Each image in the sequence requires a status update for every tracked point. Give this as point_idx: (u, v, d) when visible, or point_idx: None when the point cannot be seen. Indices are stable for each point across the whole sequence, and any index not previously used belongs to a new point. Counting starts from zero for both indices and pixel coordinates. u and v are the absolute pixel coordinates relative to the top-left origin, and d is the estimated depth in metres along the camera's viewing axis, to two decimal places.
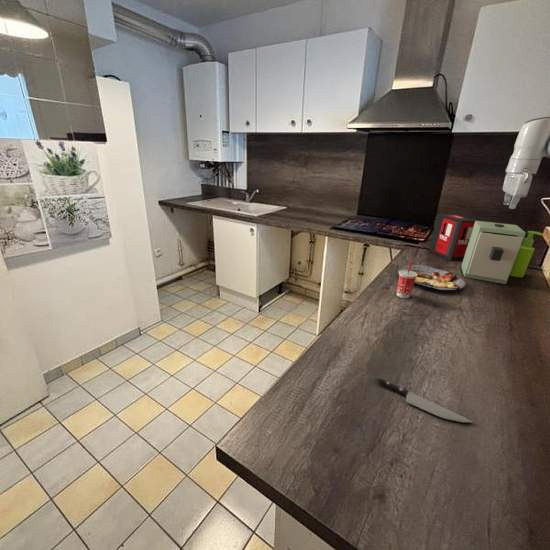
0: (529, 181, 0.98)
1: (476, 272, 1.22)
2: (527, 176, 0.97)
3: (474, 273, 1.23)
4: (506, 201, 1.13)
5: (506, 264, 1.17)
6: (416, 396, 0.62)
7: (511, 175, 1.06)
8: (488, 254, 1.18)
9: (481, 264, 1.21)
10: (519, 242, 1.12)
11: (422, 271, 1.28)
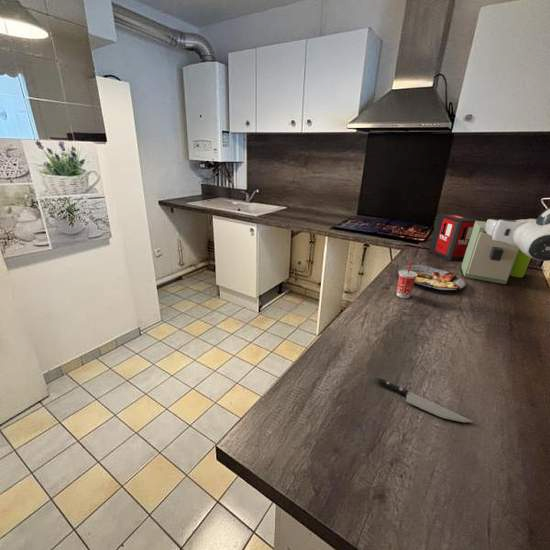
0: None
1: (476, 272, 1.22)
2: None
3: (474, 273, 1.23)
4: None
5: (506, 264, 1.17)
6: (416, 396, 0.62)
7: None
8: (488, 254, 1.18)
9: (481, 264, 1.21)
10: None
11: (422, 271, 1.28)
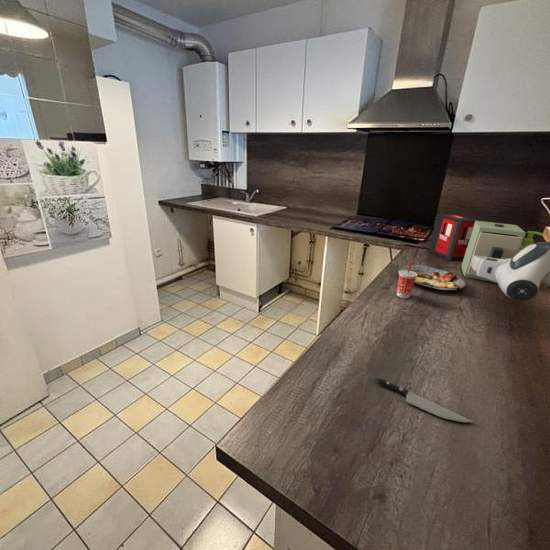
0: None
1: (476, 272, 1.22)
2: None
3: (474, 273, 1.23)
4: None
5: None
6: (416, 396, 0.62)
7: None
8: (488, 254, 1.18)
9: None
10: (519, 242, 1.12)
11: (422, 271, 1.28)
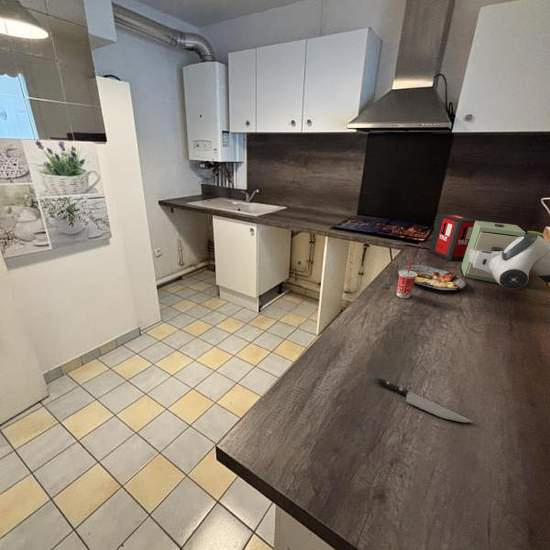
0: None
1: (476, 272, 1.22)
2: None
3: (474, 273, 1.23)
4: None
5: None
6: (416, 396, 0.62)
7: None
8: None
9: None
10: None
11: (422, 271, 1.28)
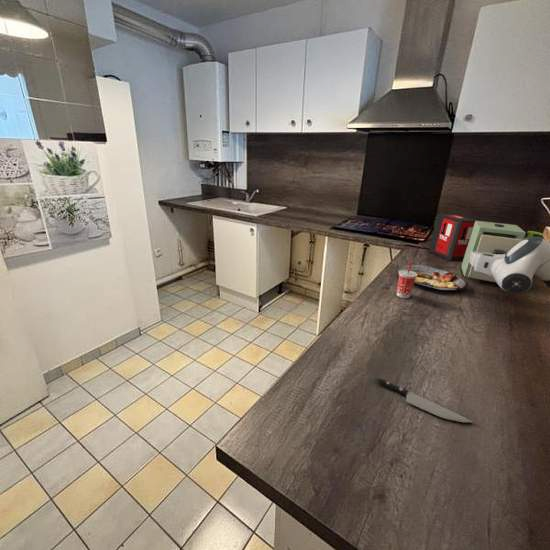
0: None
1: (477, 275, 1.19)
2: None
3: (475, 276, 1.20)
4: None
5: None
6: (416, 396, 0.62)
7: None
8: None
9: None
10: None
11: (422, 271, 1.28)
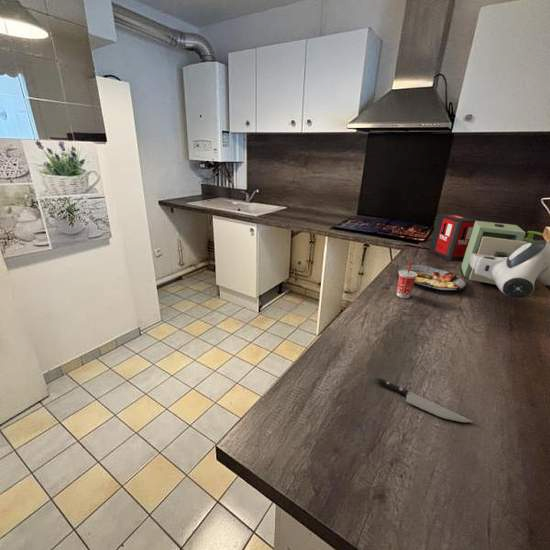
0: None
1: (478, 278, 1.17)
2: None
3: (476, 279, 1.17)
4: None
5: None
6: (416, 396, 0.62)
7: None
8: None
9: None
10: None
11: (422, 271, 1.28)
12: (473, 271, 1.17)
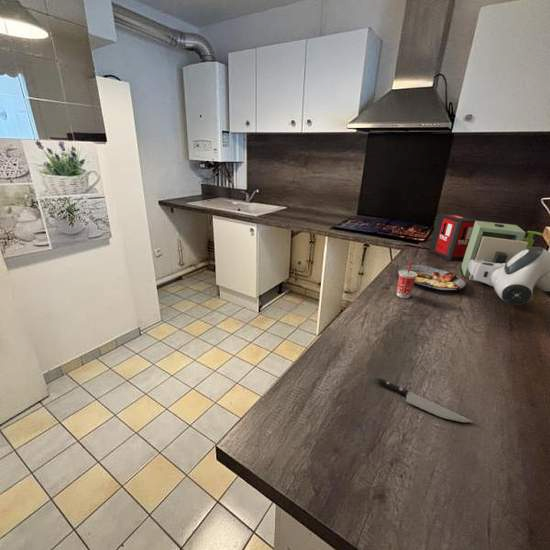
0: None
1: None
2: None
3: None
4: None
5: None
6: (416, 396, 0.62)
7: None
8: (491, 259, 1.12)
9: None
10: (524, 247, 1.07)
11: (422, 271, 1.28)
12: None
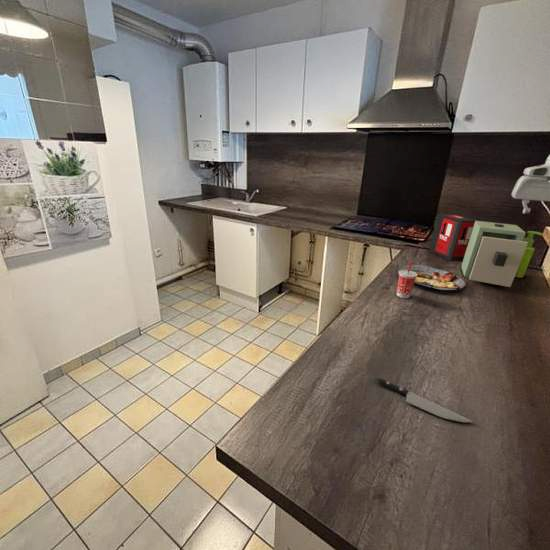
0: None
1: (478, 278, 1.17)
2: None
3: (476, 279, 1.17)
4: None
5: (510, 270, 1.11)
6: (416, 396, 0.62)
7: None
8: (491, 259, 1.12)
9: (484, 270, 1.15)
10: (524, 247, 1.07)
11: (422, 271, 1.28)
12: (473, 271, 1.17)
